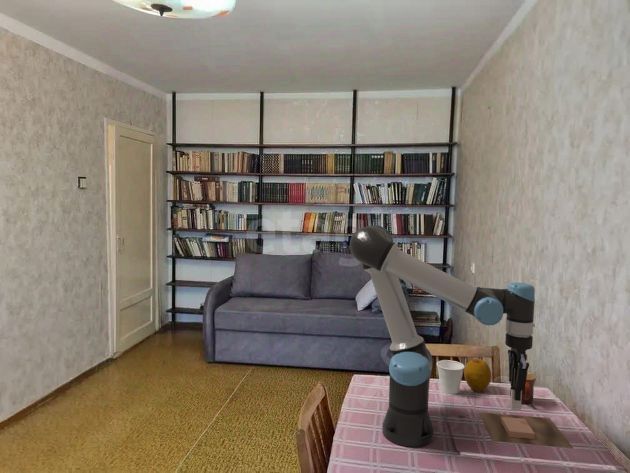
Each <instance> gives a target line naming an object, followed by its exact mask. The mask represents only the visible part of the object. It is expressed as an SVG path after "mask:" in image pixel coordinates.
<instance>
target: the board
mask: <svg viewBox="0 0 630 473" xmlns="http://www.w3.org/2000/svg"><path fill="white" fill-rule="evenodd" d="M478 414H479V416H480V419H481V420H482V423H483V425H484V426H485V427H484V428H485V429H486V431H487V433H488V434H489V437H490V439H491V441H492V442H499V443H508V444H509V443H510V444H519V445H520V444H521V445H531V446H543V447H553V448H565V449H574V446H572V444H571V443H570V442H569V441H568V439H567V438H566V436H565V435H564V434H563V433H562V432H561V431H560V429H559V427H558V426H557V425H556V424H555V422H554V421H553V420H552V419H551V418H550V417H541V416H531V415H530V416H529V415H528V416H527V415H517V414H515V415H514V414H505V413H493V412H481V411H479V412H478ZM501 417H509V418H521V419H525V420H526V421H527V423H528V424H529V426H530V427H531V429H532V430H533V432H534V433H535V437H534V439H528V438H517V437H509V435H508V433H507V432H506V430H505V428H504V426H503V424H502V423H501Z"/></svg>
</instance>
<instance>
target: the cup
mask: <svg viewBox="0 0 630 473" xmlns="http://www.w3.org/2000/svg"><path fill="white" fill-rule="evenodd" d="M436 366H437V371H438V372H437V374H438V380H439V388H440V392H442V393H444V394H446V395H458V394H460V393H459V392H460V387H461V383H462V380H463V379H462V378H463V376H464V370H465V367H466V365H465V364H463V363H461V362H459V361H456V360H448V359H442V360H438V361H437V362H436Z"/></svg>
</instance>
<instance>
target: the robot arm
mask: <svg viewBox="0 0 630 473" xmlns="http://www.w3.org/2000/svg"><path fill="white" fill-rule="evenodd" d="M349 250H350V253H351V255H352V256H353V258H355V259H356V261H358V262H360V263H361V266H362V268H363V271H365V272H367V273H368V274H369V275H370V278H371V281H372V284H373V287H374V291H375V293H376V297H377V300H378V303H379V306H380V309H381V311H382V315H383V317H384V321H385V325H386V327H387V329H388V332H389V336H390V339H391V344H390V346H389V351H390V354H391V358H390V362H389V366H388V370H389V371H388V372H389V383H388V384H389V386H388V387H389V388H388V390H389V391H388V408H387V410H386V414H385V416H384V419H383V422H382V428H381V430H382V435H383V436H384V437H385V439H387V440H389V441H390V442H392V443H394V444H396V445H400V446H403V447H408V448H409V447H413V448H418V447H423V446H426V445H428V444H430V443H431V442H432V441H433V439H434V427H433V423H432V420H431V415H430V414H429V413H430V412H429V399H430V398H429V396H430V395H429V393H430V389H429V388H430V380H431V375H432V371H433V366H434V365H433V364H434V360H433V357H432V353H431V352H430V350H429V349H428V348H427V345H426V342H425V339H424V337H422V336H420V335H419V334H418V333H417V329H416V327H415V323H414V320H413V318H412V314H411V312H410V309H409V306H408V302H407V300H406V296H405V294H404V291H403V287H402V284H401V282H400V281H401V280H402V281H405V282H407V283H409V284H411V285H413V286H414V287H417V288H419V289H420V290H423V291H424V292H426V293H429V294H430V295H432V296H434V297H437V298H438V299H440V300H441V301H444V302H445V303H448V304H450V305H452V306H453V307H455V308H458V309H459V310H461V311H463V312H464V313H465V312H466V313H467V314H468V315H471V316H473V317H475V320H477V321H478V322H479V323H481V324H482V325H485V326H494V325H497V324H498V323H500V322H501V321H502V320H503V316H504V314H505V315H506V318H505V332H506V333H505V342H504V343H505V346H507V347H508V348H510V349H508V350H507V355H508V356H507V357H508V381H509V383H510V389H511V398H510V402H509V403H510V404H509V408H510V410H512V411H513V410H514V411H522V404H521V399H522V391H525V385H526V378H527V372H529V371H528V369H529V368H530V363H529V362H527V360H528V355H527V354H526V351H527V350H531V349H532V348H533V342H534V340H533V338H534V337H533V334H534V328H535V326H536V325H535V323H534V321H535V320H534V317H535V316H534V315H535V303H536V298H535V296H536V294H535V290H536V289H535V287H534V286H533V285H532V284H531V283H524V282H510V283H508V284H507V288H494V287H493V288H492V287H491V288H489V287H480V286H473V285H471V284H469V283H468V282H465V281H463V280H461V279H459V278H457V277H455V276H453V275H451V274H449V273H447V272H444V271H443V270H440V269H439V268H437V267H435V266H433V265H431V264H429V263H427V262H426V261H423V260H421V259H419V258H417V257H415V256H413V255H411V254H409V253H407V252H405V251H403V250H400V248H398V246H397V243H395V242H394V239H393V236H392V234H391V232H390V231H389V230H388V229H386V228H385V227H383V226H381V225H376V224H374V225H373V224H371V225H368V226H363V227H361V228H358V229H356V230H355V232H354V233H353V234H352V236H351V238H350V241H349ZM400 279H401V280H400ZM511 386H512V387H511Z"/></svg>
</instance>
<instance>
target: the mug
mask: <svg viewBox="0 0 630 473" xmlns="http://www.w3.org/2000/svg"><path fill="white" fill-rule="evenodd" d="M537 378H538V377H537V375H536V374H534V373H532V372H529V371H527V378H526V385H525V391H522V399H521V405H532V404H533V403H534V388H535V387H534V386H535V384H536V380H537ZM511 387H512V386H511V385H510V390H509V397H510V399H511Z"/></svg>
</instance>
